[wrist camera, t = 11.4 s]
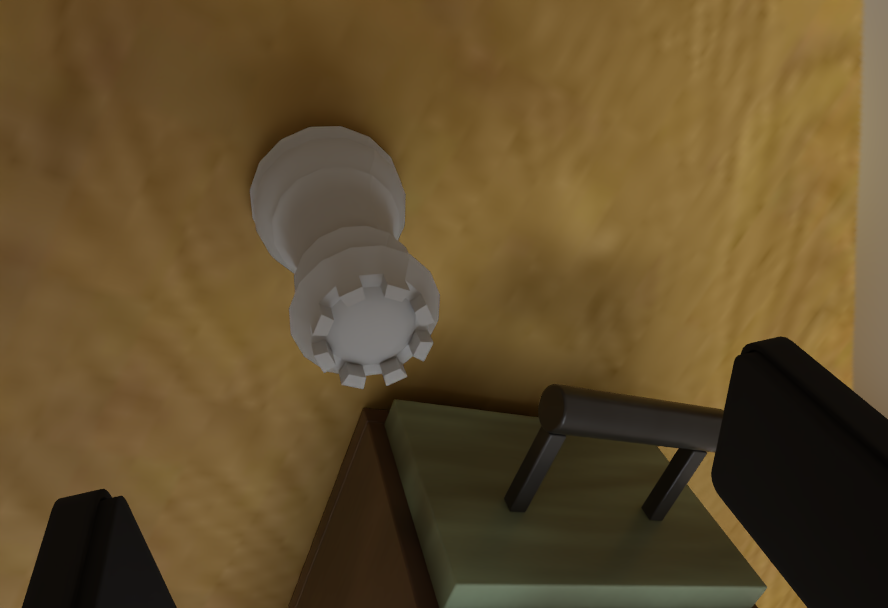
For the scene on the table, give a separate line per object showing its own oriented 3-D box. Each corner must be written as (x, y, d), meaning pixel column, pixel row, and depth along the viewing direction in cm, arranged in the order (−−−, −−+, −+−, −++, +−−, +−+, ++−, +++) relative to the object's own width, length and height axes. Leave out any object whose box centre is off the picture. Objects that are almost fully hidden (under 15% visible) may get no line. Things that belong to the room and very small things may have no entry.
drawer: (436, 288, 22) (525, 452, 15) (698, 342, 26) (850, 485, 20) (296, 644, 29) (316, 855, 23) (520, 637, 34) (589, 812, 27)
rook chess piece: (299, 89, 18) (340, 196, 12) (426, 170, 21) (521, 298, 14) (220, 219, 20) (218, 381, 13) (348, 283, 22) (401, 449, 15)
